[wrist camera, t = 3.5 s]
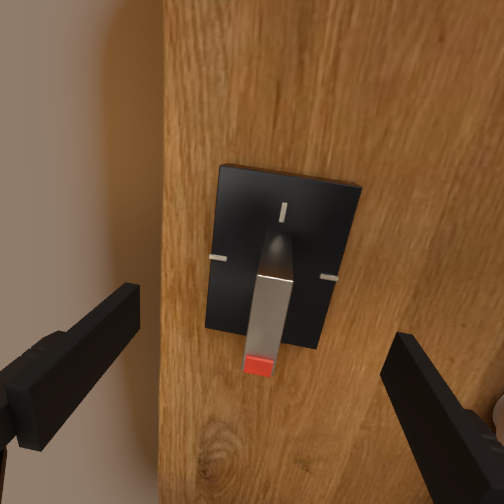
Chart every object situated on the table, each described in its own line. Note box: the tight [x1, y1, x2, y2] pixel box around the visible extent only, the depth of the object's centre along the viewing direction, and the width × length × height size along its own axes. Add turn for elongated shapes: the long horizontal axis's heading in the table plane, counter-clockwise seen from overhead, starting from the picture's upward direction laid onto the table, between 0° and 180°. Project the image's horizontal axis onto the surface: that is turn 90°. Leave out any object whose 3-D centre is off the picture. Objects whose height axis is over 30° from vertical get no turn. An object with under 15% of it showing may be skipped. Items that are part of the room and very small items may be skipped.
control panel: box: [205, 163, 362, 349], centre depth 23 cm, size 14×10×3 cm
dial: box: [241, 229, 294, 377], centre depth 18 cm, size 6×2×8 cm, turn 172°
